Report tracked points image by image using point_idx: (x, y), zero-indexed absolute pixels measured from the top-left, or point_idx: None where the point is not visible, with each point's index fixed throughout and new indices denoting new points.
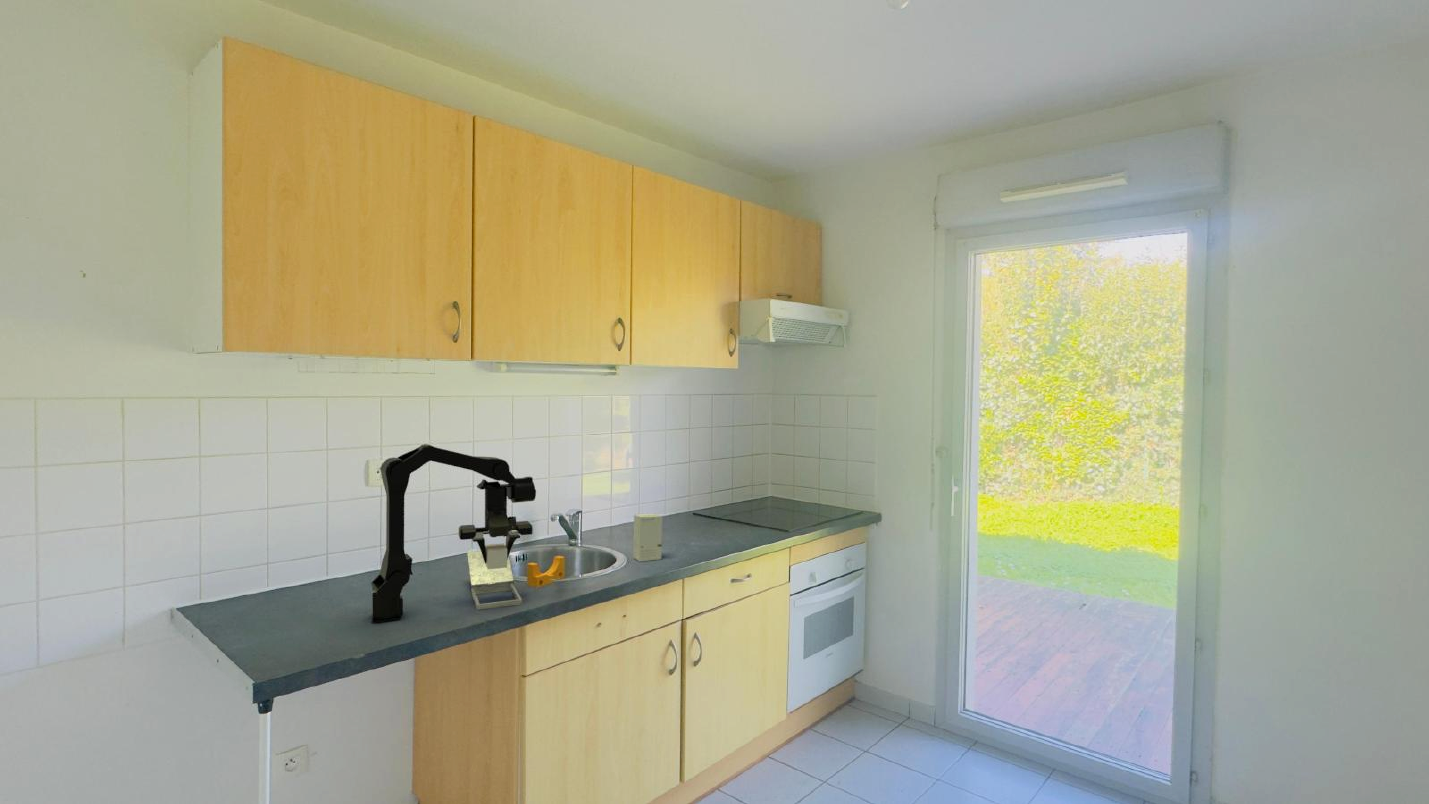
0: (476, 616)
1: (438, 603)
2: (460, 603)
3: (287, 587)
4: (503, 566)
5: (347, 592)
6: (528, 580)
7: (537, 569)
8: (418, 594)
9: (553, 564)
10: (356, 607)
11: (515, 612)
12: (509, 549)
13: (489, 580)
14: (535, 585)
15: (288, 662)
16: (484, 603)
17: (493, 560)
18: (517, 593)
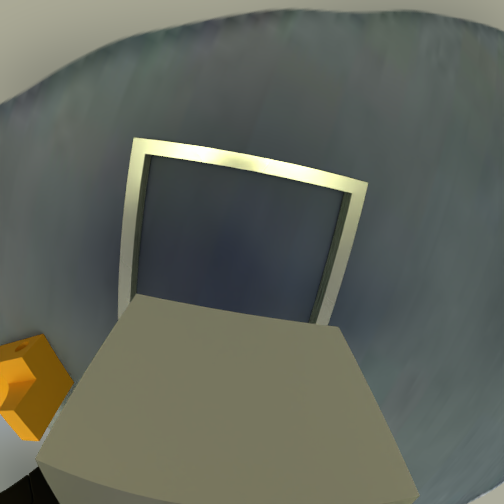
0: (388, 92)
1: (428, 346)
2: (377, 311)
3: (492, 488)
4: (172, 307)
5: (476, 467)
6: (61, 388)
7: (11, 396)
8: (414, 439)
9: None
10: None
11: (214, 36)
12: (42, 480)
13: None
14: (43, 345)
15: None
16: (329, 184)
17: (297, 378)
18: (123, 258)
